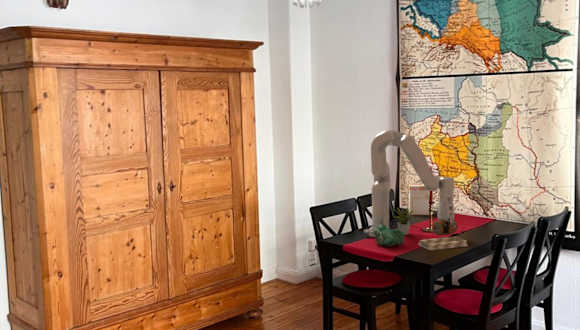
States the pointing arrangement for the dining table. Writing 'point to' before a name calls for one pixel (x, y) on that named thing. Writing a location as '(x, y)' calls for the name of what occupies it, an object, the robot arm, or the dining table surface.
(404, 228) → the house plant
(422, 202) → the coffeecake box
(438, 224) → the tin
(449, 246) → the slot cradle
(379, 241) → the mineral
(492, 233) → the dining table surface
